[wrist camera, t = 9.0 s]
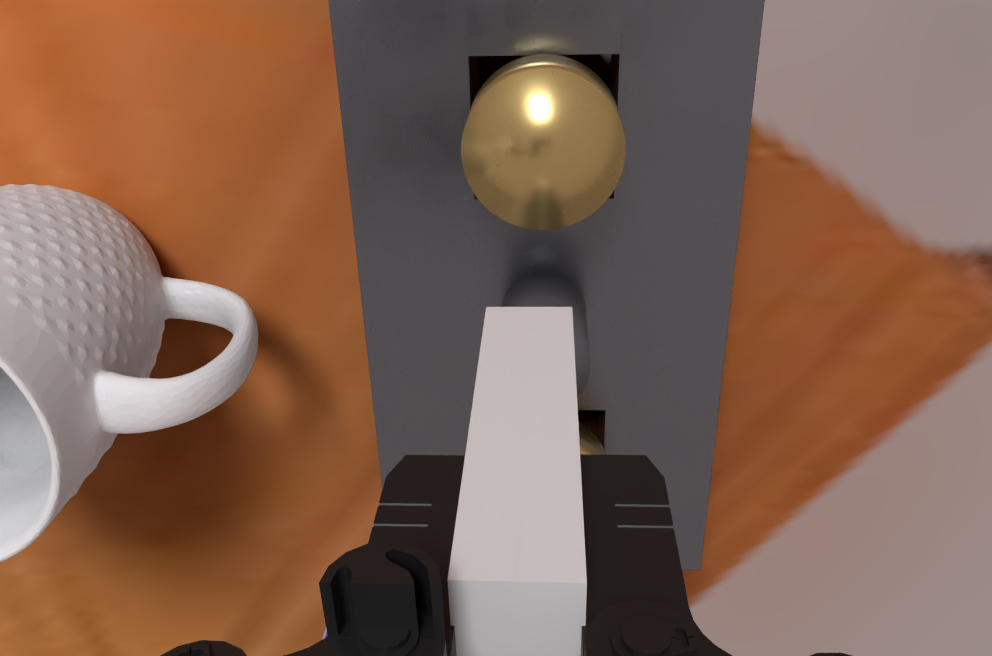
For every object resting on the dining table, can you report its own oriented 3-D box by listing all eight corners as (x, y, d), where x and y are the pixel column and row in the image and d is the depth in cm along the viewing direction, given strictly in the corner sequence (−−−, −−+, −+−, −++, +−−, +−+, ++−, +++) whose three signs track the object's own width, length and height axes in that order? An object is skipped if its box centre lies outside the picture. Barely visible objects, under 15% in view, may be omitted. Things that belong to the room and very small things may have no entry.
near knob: (478, 172, 34) (464, 230, 29) (473, 35, 32) (457, 70, 26) (611, 171, 34) (621, 229, 28) (616, 33, 31) (629, 67, 26)
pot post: (503, 347, 34) (493, 436, 29) (501, 272, 32) (491, 351, 27) (584, 347, 34) (590, 437, 29) (586, 272, 32) (593, 352, 27)
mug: (290, 159, 35) (162, 303, 24) (303, 389, 40) (204, 599, 29) (-72, 133, 35) (-372, 262, 24) (-12, 364, 41) (-235, 561, 29)
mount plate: (403, 506, 43) (390, 563, 40) (348, -65, 31) (322, -56, 27) (688, 511, 42) (700, 570, 39) (746, -75, 30) (772, -67, 27)
